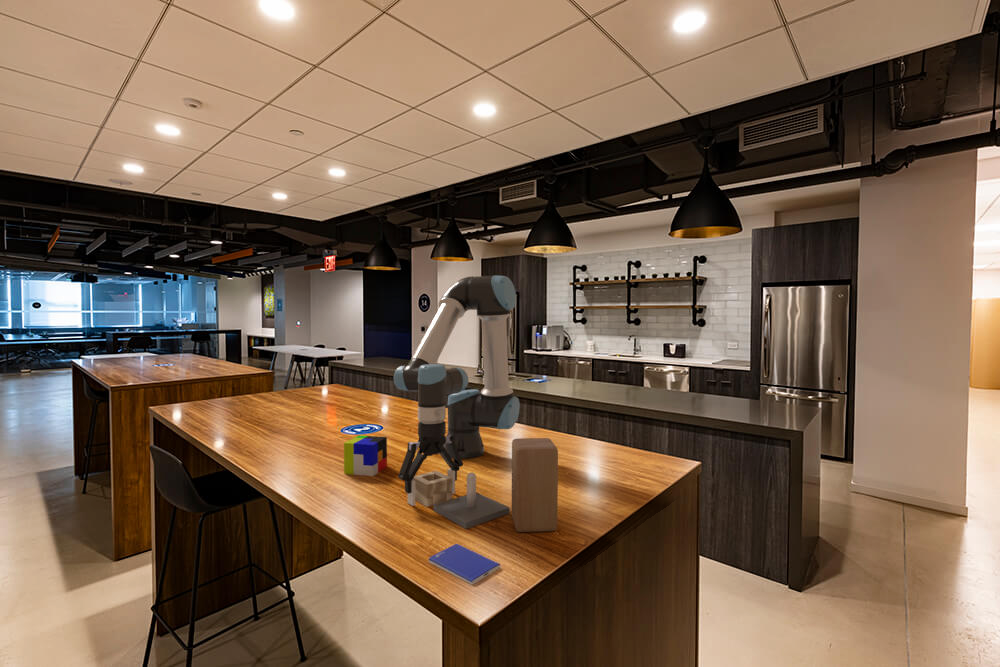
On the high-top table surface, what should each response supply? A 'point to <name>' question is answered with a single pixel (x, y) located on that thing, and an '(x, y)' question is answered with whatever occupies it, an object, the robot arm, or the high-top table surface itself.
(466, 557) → the hard drive
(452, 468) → the robot arm
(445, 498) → the maple bead
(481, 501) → the post board
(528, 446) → the wooden block
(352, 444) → the puzzle toy
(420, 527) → the high-top table surface
